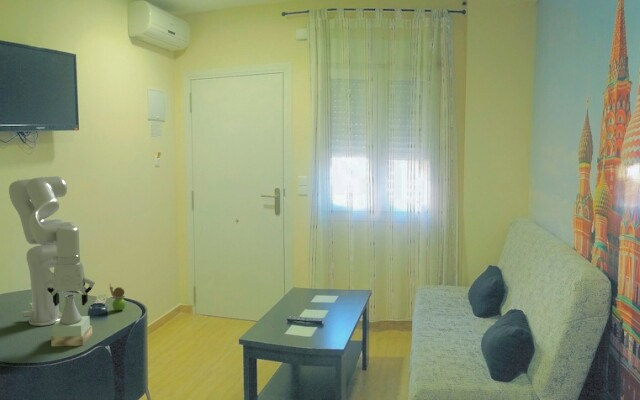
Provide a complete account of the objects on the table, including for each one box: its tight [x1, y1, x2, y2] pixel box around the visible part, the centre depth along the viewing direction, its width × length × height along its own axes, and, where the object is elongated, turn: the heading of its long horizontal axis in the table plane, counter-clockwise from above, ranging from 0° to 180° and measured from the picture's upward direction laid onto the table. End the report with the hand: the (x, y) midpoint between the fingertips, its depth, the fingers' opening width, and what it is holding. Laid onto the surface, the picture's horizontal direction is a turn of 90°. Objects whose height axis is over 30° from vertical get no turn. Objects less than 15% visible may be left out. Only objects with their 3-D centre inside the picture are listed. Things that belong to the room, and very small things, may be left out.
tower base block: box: [50, 324, 93, 347], centre depth 196 cm, size 11×11×4 cm
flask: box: [60, 293, 82, 324], centre depth 194 cm, size 7×7×10 cm
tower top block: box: [51, 315, 91, 337], centre depth 196 cm, size 10×10×4 cm
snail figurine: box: [108, 283, 126, 312], centre depth 228 cm, size 5×6×12 cm
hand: (70, 304), depth 194 cm, fingers open, 9 cm apart
